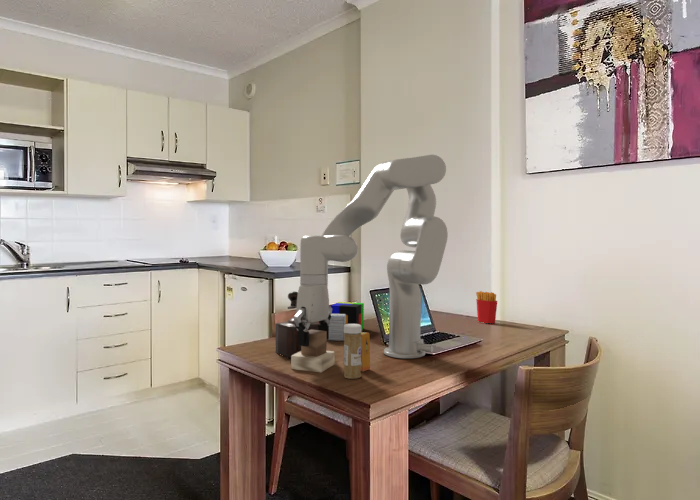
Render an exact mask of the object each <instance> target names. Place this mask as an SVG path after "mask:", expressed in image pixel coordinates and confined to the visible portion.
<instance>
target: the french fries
mask: <svg viewBox="0 0 700 500" xmlns="http://www.w3.org/2000/svg"><path fill="white" fill-rule="evenodd" d="M475 294H476V313H477V322H478V321H479V322H484V323H495V324H496V317H497V307H498V300H497V294H496V293H494V292H492V291H491V292H487V291H485V292H484V291H482V290H479V291H477V292H475ZM479 322H478V323H479Z"/></svg>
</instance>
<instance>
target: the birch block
mask: <svg viewBox="0 0 700 500" xmlns="http://www.w3.org/2000/svg"><path fill="white" fill-rule="evenodd" d="M335 353H336V351H333V350H326V353H325V354H322V355H320V356H317V357H315V356H309V355H302V354H301V351H300V352H298V353H296V354H294V355H292V356H291V358H290V363H291V364H290V369H291V370H295V371H296V370H297V371H298V370H299V371H305V372H306V371H307V372H313V373H315V372H316V373H323V372H325V371H326V370H327V369H329V368H331V367H333V366H335V358H336V356H335V355H336V354H335Z"/></svg>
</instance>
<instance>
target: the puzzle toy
mask: <svg viewBox="0 0 700 500" xmlns="http://www.w3.org/2000/svg"><path fill="white" fill-rule="evenodd" d="M364 305H365V302H364V303H363V302H348V301H347V302H346V301H337V302H336V303H334V304H331V305H330V307H331V308H332V313H331V314H346V324H360V325H361V331H363V330H364V322H365V320H364V318H365V317H364V313H365V309H364V307H365V306H364Z"/></svg>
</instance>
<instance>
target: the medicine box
mask: <svg viewBox="0 0 700 500" xmlns="http://www.w3.org/2000/svg"><path fill="white" fill-rule="evenodd" d="M345 324H346V314H331V319H330V324H329V339H327V341H340V342H344V325H345Z"/></svg>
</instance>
